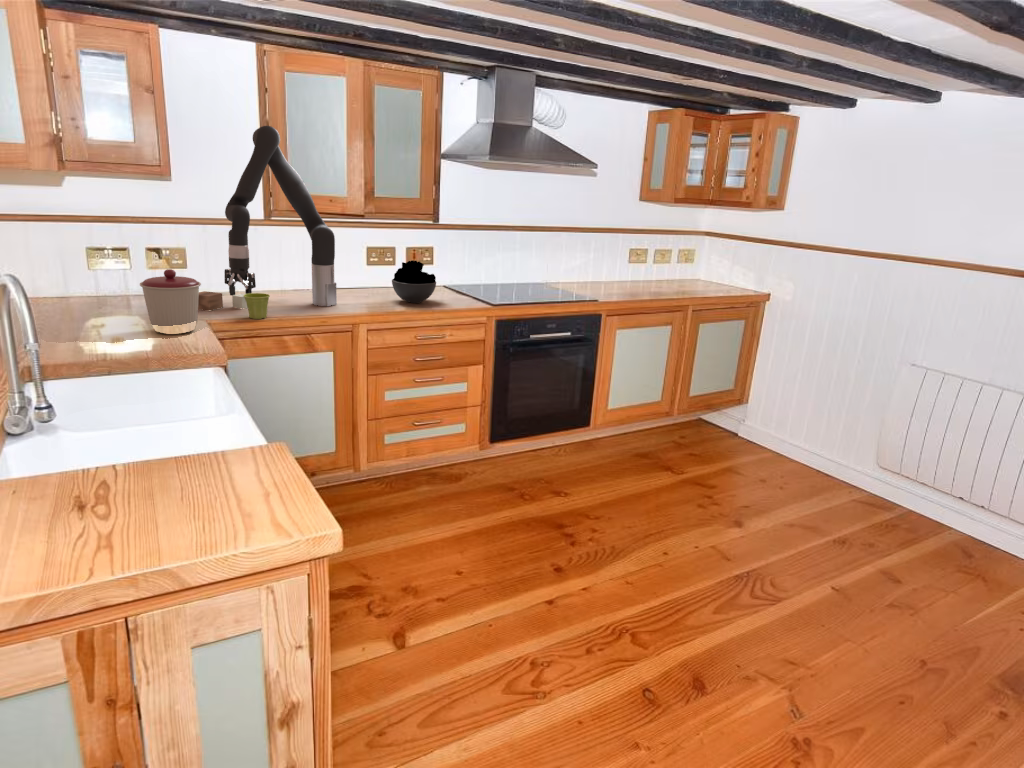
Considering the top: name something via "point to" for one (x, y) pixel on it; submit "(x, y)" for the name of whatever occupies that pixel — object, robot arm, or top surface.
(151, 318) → the canister
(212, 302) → the walnut block
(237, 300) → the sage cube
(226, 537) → the top surface
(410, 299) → the bowl of black rocks
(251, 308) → the plant pot
